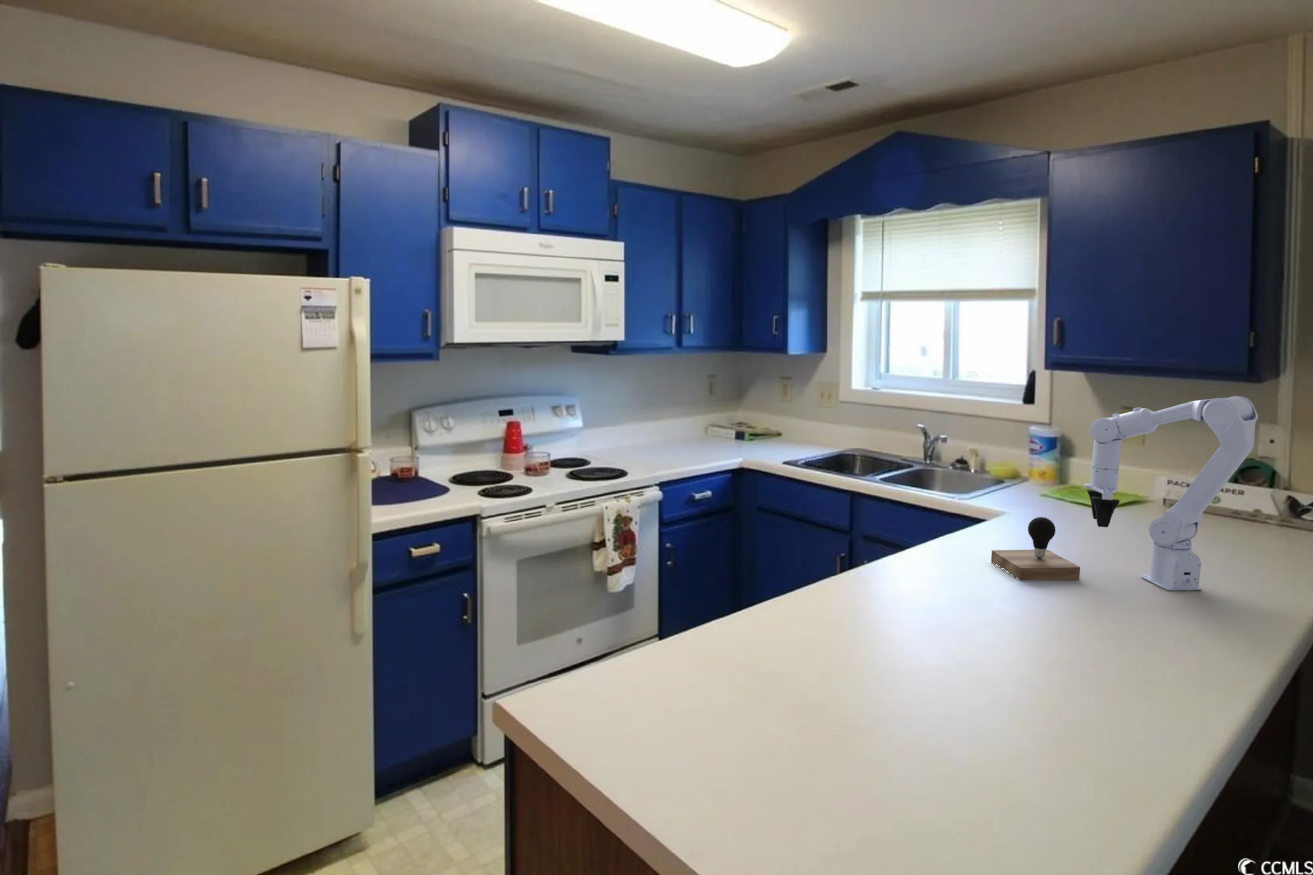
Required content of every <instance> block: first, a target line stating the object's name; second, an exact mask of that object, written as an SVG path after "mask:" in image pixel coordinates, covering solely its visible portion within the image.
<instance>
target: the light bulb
mask: <svg viewBox="0 0 1313 875" xmlns="http://www.w3.org/2000/svg"><path fill="white" fill-rule="evenodd" d="M1027 531H1028V535H1029V536H1030V538H1031V541H1032V544H1033V548H1034V549H1033V550H1035V551H1034V555H1035V556H1036V557H1037V558H1039V559H1041V558H1043V557H1045V555H1046V554H1045V553H1046V550H1048V546H1049V543H1050V541H1051V540H1053V538H1054V537H1055V534H1056V526H1055V523H1054V522H1053V521H1052V520H1051V519H1049V518H1048V517H1044V516H1038V517H1035V518H1033V519H1032V520H1031V521H1030V522H1029V523H1028V527H1027Z"/></svg>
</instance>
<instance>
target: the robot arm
mask: <svg viewBox="0 0 1313 875" xmlns="http://www.w3.org/2000/svg"><path fill="white" fill-rule="evenodd" d="M1258 418H1259V415H1258V412H1257V410H1256V408H1255V405H1254V404H1253V402H1252V401H1251V400H1250V399H1249V398H1248V397H1245V396H1241V395H1233V396H1230V397H1216V398H1210V399H1207V398H1206V399H1200V400H1198V399H1197V400H1192V401H1189V402H1184V403H1181V404H1178V405H1174V406H1171V407H1167V408H1164V409H1163V408H1162V409H1160V410H1156V411H1153V410H1151V409H1149V408H1146V407H1144V408H1142V406H1138V407H1134V408H1132V411H1128V412H1125V413H1121V414H1120V412H1117V413H1114V414H1112V417H1101V418H1099V419H1096V420H1094V421H1093V422H1092V423H1091V425H1090V428H1089V434H1090V436H1091V438H1092V439H1093V448H1092V449H1093V450H1092V457H1091V458H1092V459H1091V460H1092V461H1091V472H1090V483H1084V484H1083V485H1084V486H1083V487H1084V488H1086V489H1087V490H1086V492H1087V493H1088V497H1089V499H1090V505H1091V513H1092V518H1093V520H1096V525H1097V527H1099V528H1109V526H1110V523H1111V520H1112V517H1113V514H1114V512H1115V509H1116V508H1117V506H1118V505H1119V504H1120V502H1121V501H1120V499H1115V498H1114V494H1115V493H1116V492H1117V491H1119V486H1118V484H1119V482H1118V481H1119V473H1120V472H1119V471H1120V463H1121V462H1120V460H1121V451H1122V450H1121V449H1122V443H1123V442H1122V441H1123V440H1126V439H1129V438H1133V437H1138V436H1143V435H1148V434H1151V433H1154V432H1155V431H1156V429H1157V428H1158V426H1160V425H1164V424H1170V423H1174V422H1179V421H1184V420H1190V419H1193V420H1195V421H1198V422H1205V424H1206V425H1207V426H1208V427H1209V428H1210V430H1211V431H1212V432H1213V434H1215V436H1216V438H1217V441H1218V443H1219V447H1218V448H1217V449H1216V451H1215V452H1214V453H1213V455H1212V456H1211V457H1210V458H1209V460H1208V461H1207V462H1206V464H1205V465H1204V466H1203V468H1202V469H1201V470H1200V472H1199V473H1198V474H1197V475H1196V476H1195V478H1194V480H1193V481H1192V482H1191V484H1190V485H1189V486H1188V487H1187V488H1186V490H1185V492H1184V493H1183V495H1181V497H1180V498H1179V499H1178V501H1177V502H1176V503H1175V504H1174V505H1173V506H1171V507H1170V508H1169V509H1167V510H1166V511H1165V512H1164V514H1163V515H1162V516H1161V517H1158V518H1156V519H1154V520H1152V522H1151V523H1150V525H1149V528H1148V532H1149V536H1150V538H1151V539H1152V550H1151V551H1152V552H1151V562H1150V574H1140V577H1141V578H1142V579H1145V580H1146V581H1148V582H1150V583H1152V584H1154V585H1156V586H1159V587H1160V588H1163V589H1165V590H1167V591H1202V590H1203V587H1201V586H1200V577H1201V568H1202V561H1201V558H1200V557H1199V555H1197V554H1196V553H1194V551H1193V549H1192V545H1193V544H1192V539H1194V538H1195V537H1196V536H1197V535H1198V533H1199V532H1198V531H1199V526H1200V524H1201V522H1202V520H1203V518H1204V516H1203V514H1204V512H1206V509H1207V508H1208V506H1209V505H1210V504H1211V503H1212V502H1213V500H1214V499H1215V498H1216V497H1217V495H1218V494H1219V493H1220V491H1221V490H1222V489H1223V488H1224V486H1225V485H1226V484H1227V482H1228V481H1229V480H1230V479H1231V478H1232V476H1233V475H1234V474H1235V472H1236V471H1237V470H1238V469H1239V467H1240V466H1241V465H1242V463H1243V462H1245V460H1246V458H1247V457H1248V456H1249V455H1250V453H1251V452H1252V451H1253V449H1254V447H1255V432H1256V424H1257V421H1258Z"/></svg>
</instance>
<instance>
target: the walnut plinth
mask: <svg viewBox="0 0 1313 875" xmlns="http://www.w3.org/2000/svg"><path fill="white" fill-rule="evenodd" d="M1034 551H1035V550H1034V549H1001V550H1000V549H995V550H993V549H992V550H991V557H990V562H991V561H992V562H994V563H995V564H997V565H998V566H1000V567H1001V568H1004V569H1005V570H1006V571H1008V572H1009V573H1010V574H1012V575H1013V576H1015V577H1017V578H1018V579H1019V580H1037V581H1079V580H1080V576H1081V575H1080V573H1081V567H1080V566H1079V565H1078V564H1076V563H1073V562H1071V561H1069V560H1068V559H1067V558H1064V557H1062V556H1061V555H1058V554H1056V553H1054V552H1053V551H1050V550H1049V549H1046V553H1045V554H1046V555H1045V557H1043V558H1041V559H1039V558H1037V557H1036V556H1035V555H1034ZM992 562H991V563H992ZM995 564H994V565H995ZM998 566H997V567H998ZM1001 568H1000V569H1001ZM1009 573H1008V574H1009ZM1010 574H1009V575H1010ZM1012 575H1011V576H1012ZM1013 576H1012V577H1013ZM1015 577H1014V578H1015ZM1018 579H1017V580H1018ZM1019 580H1018V581H1019Z"/></svg>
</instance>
